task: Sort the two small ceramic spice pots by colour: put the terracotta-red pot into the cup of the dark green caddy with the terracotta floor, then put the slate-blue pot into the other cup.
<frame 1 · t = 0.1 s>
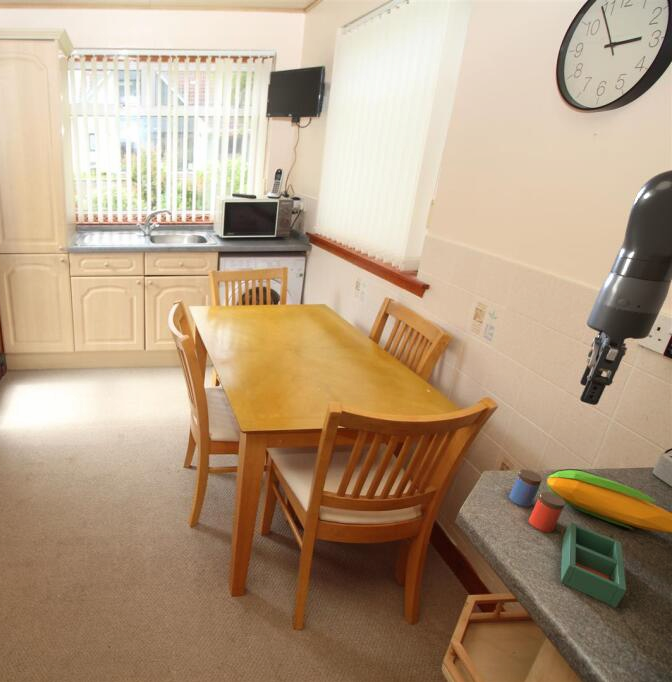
hand: (587, 393, 81), 25 cm above the countertop, tool pointing down, fingers open, 8 cm apart
red pot: (540, 524, 86), on the countertop
caddy: (587, 570, 77), on the countertop
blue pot: (520, 500, 92), on the countertop
corn: (606, 517, 89), on the countertop
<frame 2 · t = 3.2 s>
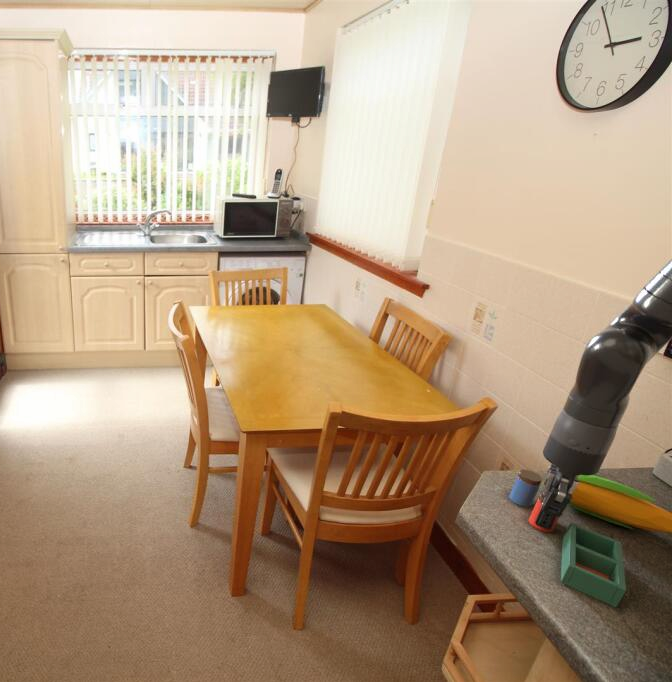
hand: (543, 519, 85), 1 cm above the countertop, tool pointing down, fingers closed on red pot, 3 cm apart
red pot: (540, 524, 86), on the countertop, touching gripper
everything else where it was.
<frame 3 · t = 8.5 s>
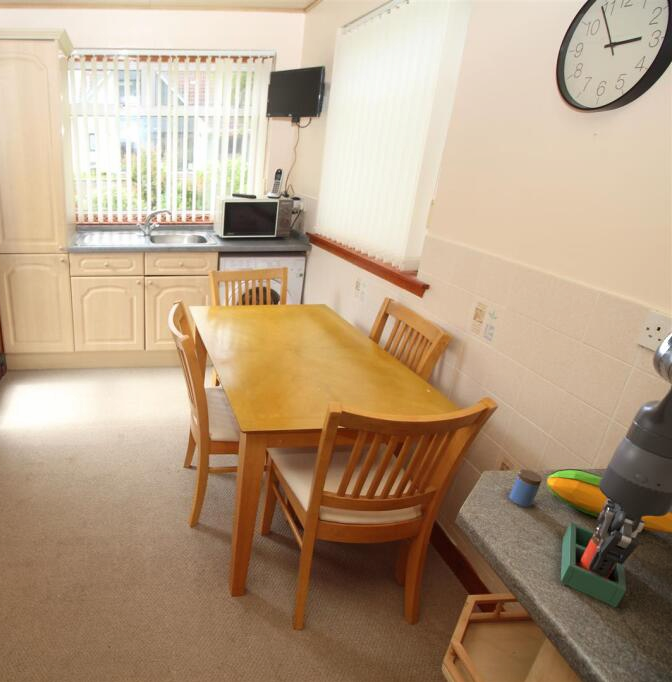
hand: (597, 563, 73), 4 cm above the countertop, tool pointing down, fingers closed on red pot, 3 cm apart
red pot: (593, 569, 74), point 3 cm above the countertop, touching gripper
everything else where it was.
when the fingers open (4 cm above the countertop, at t = 11.1 s): red pot drops 2 cm, resting on caddy.
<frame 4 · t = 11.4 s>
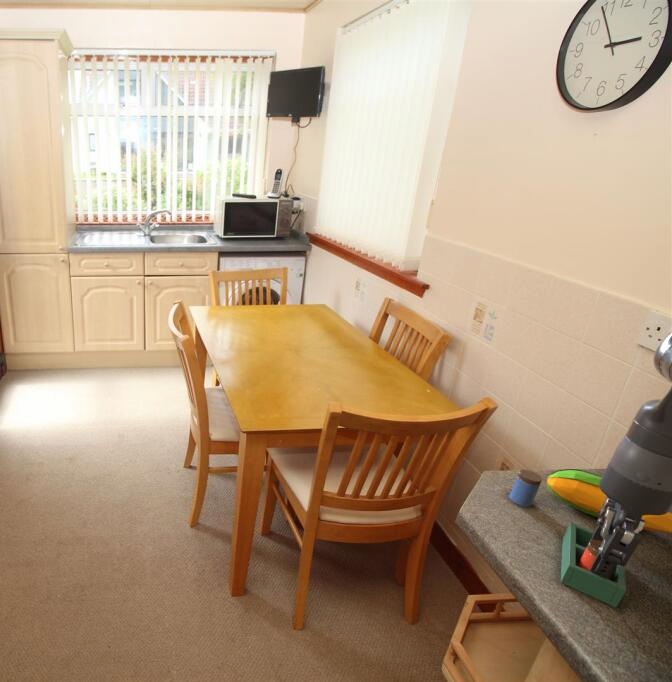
hand: (598, 560, 73), 4 cm above the countertop, tool pointing down, fingers open, 6 cm apart
red pot: (589, 577, 74), point 1 cm above the countertop, touching caddy
everything else where it was.
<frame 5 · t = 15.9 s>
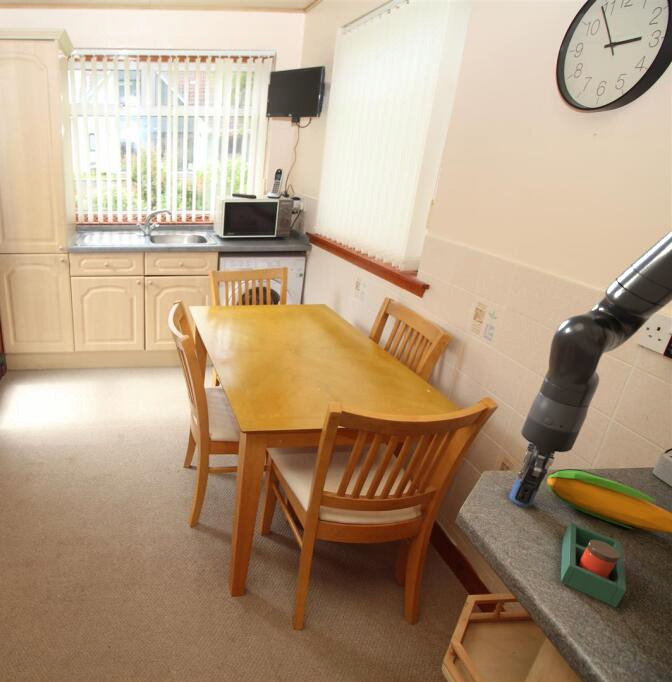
hand: (522, 495, 91), 1 cm above the countertop, tool pointing down, fingers closed on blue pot, 3 cm apart
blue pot: (520, 500, 92), on the countertop, touching gripper
everything else where it was.
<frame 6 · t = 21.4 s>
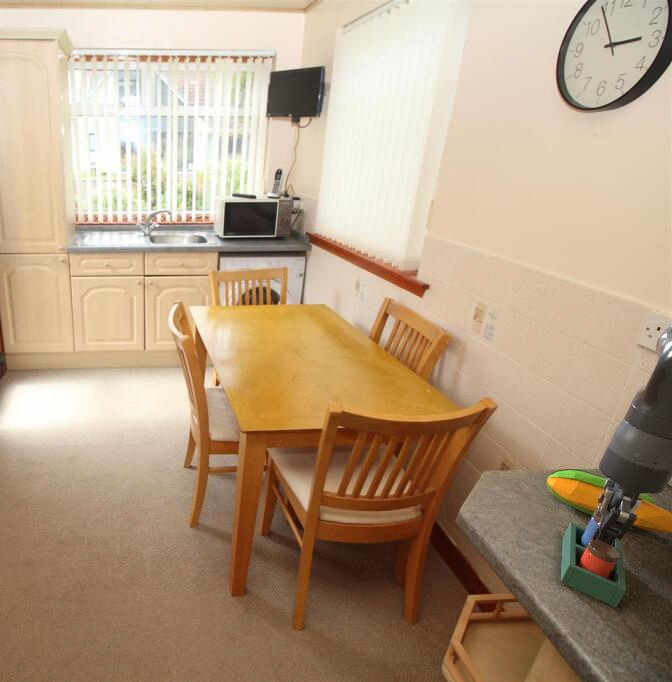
hand: (597, 540, 77), 4 cm above the countertop, tool pointing down, fingers closed on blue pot, 3 cm apart
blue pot: (594, 546, 78), point 3 cm above the countertop, touching gripper
everything else where it was.
when the fingers open (5 cm above the countertop, at t = 26.0 s): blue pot drops 3 cm, resting on caddy.
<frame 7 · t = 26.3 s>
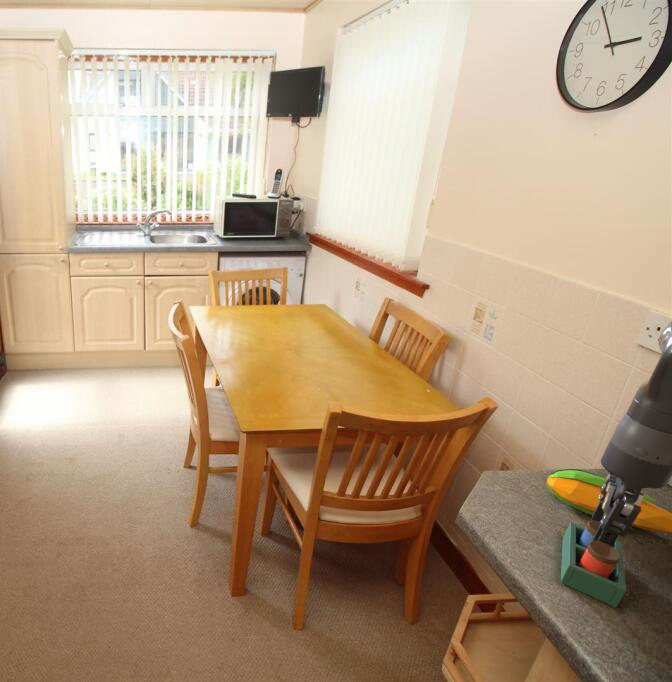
hand: (599, 533, 77), 5 cm above the countertop, tool pointing down, fingers open, 6 cm apart
red pot: (589, 576, 74), point 1 cm above the countertop, tilted 5°, touching caddy, gripper
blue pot: (587, 556, 79), point 1 cm above the countertop, touching caddy
everything else where it was.
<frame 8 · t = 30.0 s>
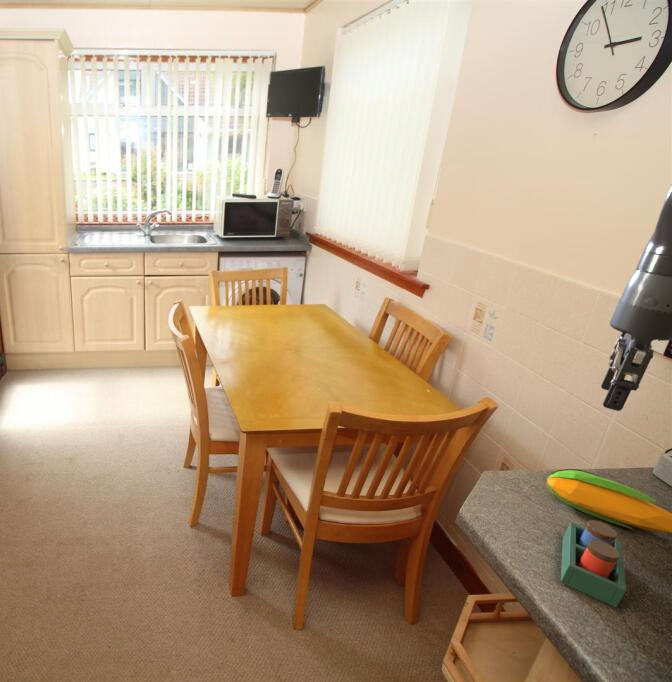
hand: (609, 398, 76), 26 cm above the countertop, tool pointing down, fingers open, 8 cm apart
red pot: (589, 577, 74), point 1 cm above the countertop, touching caddy
everything else where it was.
at the end: red pot 0.0 cm from the target spot in the caddy, point 0.8 cm above the caddy's base; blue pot 0.1 cm from the target spot in the caddy, point 0.6 cm above the caddy's base; corn moved 0.2 cm from its start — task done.
